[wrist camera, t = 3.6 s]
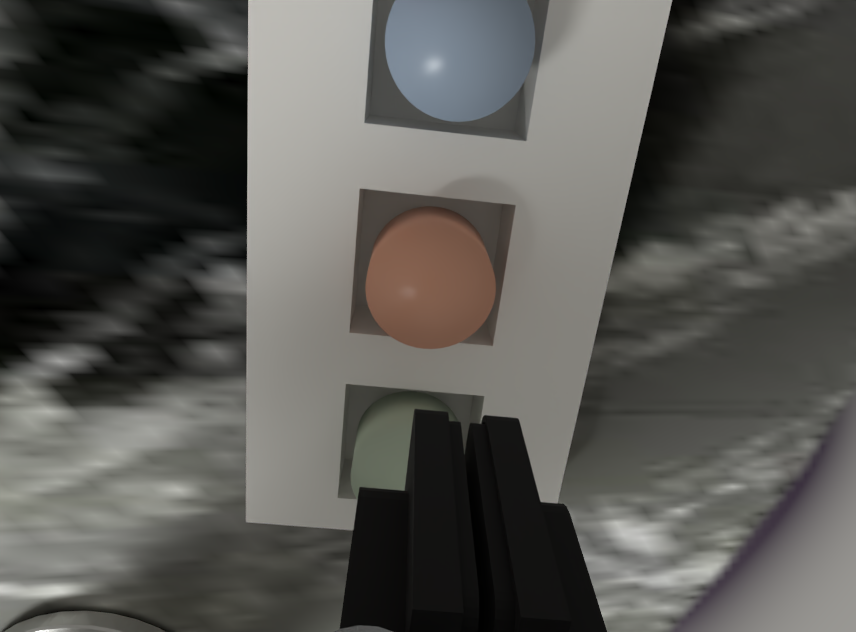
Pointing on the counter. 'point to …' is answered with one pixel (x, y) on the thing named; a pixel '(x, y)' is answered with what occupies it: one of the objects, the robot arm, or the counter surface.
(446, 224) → the button terracotta
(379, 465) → the button sage
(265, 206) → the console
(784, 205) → the counter surface
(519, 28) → the button slate
